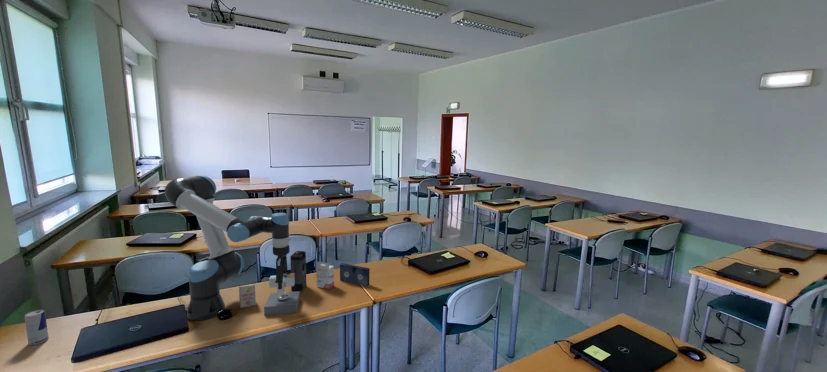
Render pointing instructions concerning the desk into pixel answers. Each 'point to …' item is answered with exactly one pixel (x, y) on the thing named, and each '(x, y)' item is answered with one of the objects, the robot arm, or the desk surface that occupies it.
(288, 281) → the t key
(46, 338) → the energy drink
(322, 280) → the ink cartridge box
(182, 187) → the robot arm
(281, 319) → the desk surface
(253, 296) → the white red carton
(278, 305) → the grey flat square block
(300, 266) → the electronic device
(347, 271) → the vhs cassette tape
